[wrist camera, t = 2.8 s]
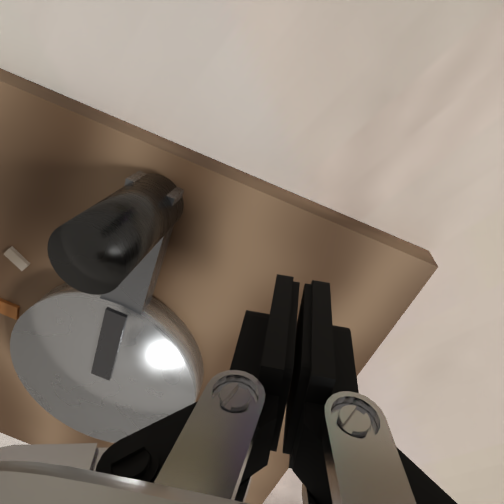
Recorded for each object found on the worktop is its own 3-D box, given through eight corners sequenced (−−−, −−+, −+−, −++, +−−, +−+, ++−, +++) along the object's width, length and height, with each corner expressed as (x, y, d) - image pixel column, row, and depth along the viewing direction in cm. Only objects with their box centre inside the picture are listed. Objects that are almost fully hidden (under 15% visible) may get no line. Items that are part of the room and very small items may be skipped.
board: (428, 251, 17) (439, 269, 16) (246, 507, 28) (242, 532, 27) (-69, 39, 16) (-108, 36, 15) (-52, 387, 28) (-74, 406, 26)
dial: (176, 441, 23) (136, 545, 18) (26, 380, 23) (-56, 468, 18) (276, 220, 16) (255, 294, 11) (53, 125, 15) (-77, 156, 10)
